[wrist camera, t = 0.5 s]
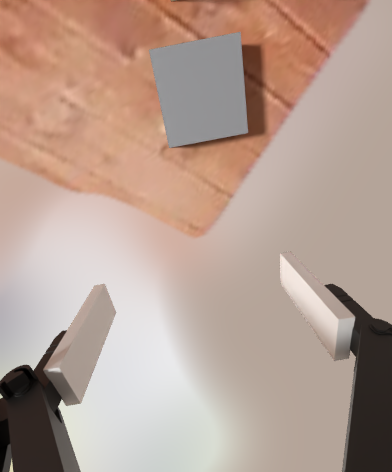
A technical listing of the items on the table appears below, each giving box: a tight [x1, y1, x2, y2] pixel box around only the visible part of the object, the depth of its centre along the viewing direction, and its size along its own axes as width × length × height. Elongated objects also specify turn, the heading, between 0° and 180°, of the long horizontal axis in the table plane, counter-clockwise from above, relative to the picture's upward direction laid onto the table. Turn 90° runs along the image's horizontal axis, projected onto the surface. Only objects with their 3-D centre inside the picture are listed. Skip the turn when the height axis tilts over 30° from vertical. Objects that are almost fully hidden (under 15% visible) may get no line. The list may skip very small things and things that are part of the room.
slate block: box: [149, 32, 248, 148], centre depth 33 cm, size 12×12×4 cm
